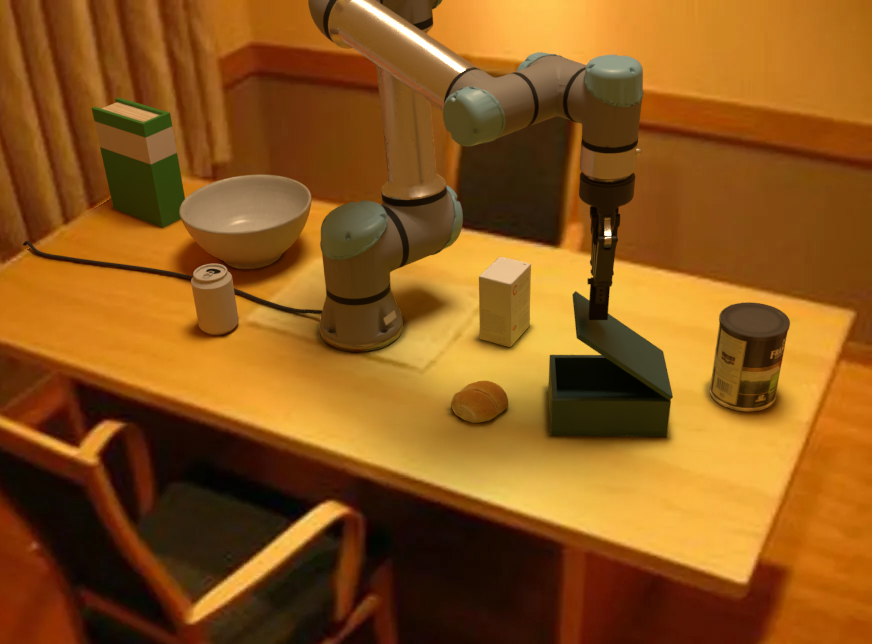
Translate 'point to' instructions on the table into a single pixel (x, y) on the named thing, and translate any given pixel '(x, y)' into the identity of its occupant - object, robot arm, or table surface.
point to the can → (214, 299)
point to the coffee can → (748, 356)
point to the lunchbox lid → (622, 347)
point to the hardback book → (140, 161)
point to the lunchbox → (602, 400)
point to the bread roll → (479, 401)
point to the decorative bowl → (247, 218)
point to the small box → (504, 301)
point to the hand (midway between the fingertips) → (597, 317)
